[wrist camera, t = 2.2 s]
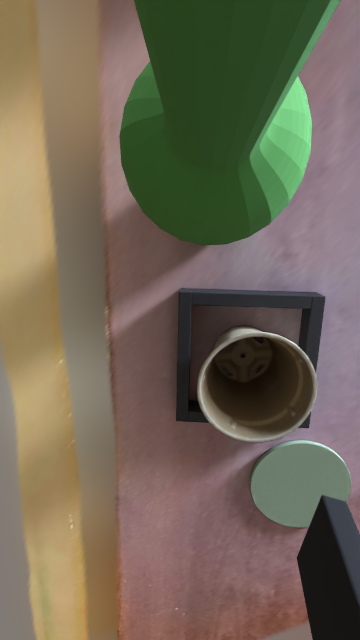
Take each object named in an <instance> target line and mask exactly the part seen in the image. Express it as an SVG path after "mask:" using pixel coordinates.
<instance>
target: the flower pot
mask: <svg viewBox="0 0 360 640" xmlns="http://www.w3.org/2000/svg"><path fill="white" fill-rule="evenodd" d="M254 337H261V338H262V339H263V342H262V343H260V342H259V341H258V340H256V338H254ZM241 354H244V355H245V357H244V358H242V357H241ZM261 365H264V366H263V367H262V369H261V370H260V371H259V372H255V371H256V370H257V369H258V368H257V367H260V366H261ZM223 367H224V368H225V369H226V370H228V371H229V372H230V373H232V375H231V376H230V375H227V374H226V373H224V372H223V370H222V368H223ZM316 394H317V379H316V373H315V370H314V367H313V365H312V363H311V361H310V360H309V358H308V356H307V355H306V354H305V353H304V352H303V351H302V350H301V349H300V348H299V347H298V346H297V345H296V344H295V343H293V342H292V341H290V340H288V339H286V338H284V337H282V336H279V335H276V334H272V333H267V332H262V331H260V330H258V329H256V328H254V327H250V326H238V327H234V328H231V329H229V330H227V331H225V332H224V333H223V334H222V335H221V336H220V337H219V338H218V339H217V341H216V343H215V345H214V348H213V351H212V352H211V353H210V355H209V356H208V357H207V359H206V360H205V362H204V364H203V365H202V368H201V370H200V373H199V376H198V381H197V397H198V402H199V405H200V408H201V410H202V412H203V414H204V416H205V417H206V419H207V420H208V421H209V423H210V424H212V425H213V426H214V427H215V428H216V429H217V430H218V431H220V432H221V433H223V434H225V435H226V436H228V437H231V438H233V439H236V440H239V441H243V442H251V443H261V442H269V441H273V440H276V439H279V438H282V437H284V436H286V435H288V434H289V433H291V432H292V431H294V430H296V429H297V428H298V427H299V426H300V425H301V424H302V423H303V421H305V419H306V418H307V417H308V415H309V413H310V412H311V410H312V408H313V405H314V402H315V400H316Z"/></svg>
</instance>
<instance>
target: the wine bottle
mask: <svg viewBox="0 0 360 640" xmlns="http://www.w3.org/2000/svg"><path fill="white" fill-rule="evenodd" d="M134 2H135V6H136V9H137V13H138V17H139V20H140V24H141V28H142V32H143V35H144V39H145V43H146V46H147V50H148V54H149V58H150V62H149V63H148V65H147V66H146V67H145V69H144V70H143V71H142V73H141V74H140V75H139V76H138V78H137V79H136V81H135V83H134V86H133V88H132V90H131V93H130V95H129V97H128V100H127V102H126V104H125V107H124V113H123V119H122V125H121V131H120V149H121V163H122V167H123V170H124V174H125V177H126V180H127V183H128V186H129V189H130V191H131V193H132V195H133V196H134V198H135V199H136V201H137V203H138V204H139V206H140V208H141V209H142V211H143V212H144V213H145V214H146V215H147V216H148V217H149V218H150V219H151V220H152V221H153V222H154V223H155V224H156V225H157V226H158V227H159V228H160V229H162V230H164V231H166V232H167V233H169V234H171V235H173V236H175V237H177V238H178V239H180V240H183V241H188V242H192V243H196V244H200V245H218V244H228V243H231V242H234V241H238V240H241V239H244V238H247V237H249V236H251V235H253V234H254V233H256V232H257V231H259V230H261V229H262V228H264V227H266V226H267V225H269V224H270V223H271V222H272V221H273V220H274V219H275V218H276V217H277V216H278V214H279V213H280V212H281V211H282V210H283V209H284V208H285V207H286V206H287V205H288V204H289V202H290V200H291V198H292V197H293V195H294V193H295V192H296V190H297V188H298V186H299V185H300V183H301V181H302V179H303V176H304V172H305V169H306V165H307V162H308V159H309V155H310V150H311V130H312V120H311V115H310V110H309V105H308V100H307V95H306V92H305V90H304V88H303V86H302V84H301V82H300V80H299V78H298V75H299V73H300V71H301V69H302V68H303V66H304V64H305V62H306V60H307V59H308V57H309V55H310V53H311V52H312V50H313V48H314V46H315V45H316V43H317V41H318V39H319V37H320V36H321V34H322V32H323V30H324V29H325V27H326V25H327V23H328V21H329V20H330V18H331V16H332V14H333V13H334V11H335V9H336V7H337V6H338V4H339V2H340V0H134Z"/></svg>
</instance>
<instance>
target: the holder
mask: <svg viewBox="0 0 360 640" xmlns="http://www.w3.org/2000/svg"><path fill="white" fill-rule="evenodd" d="M192 305H211V306H240V307H270V308H299V309H303V310H302V319H301V328H300V337H299V346H298V347H299V348H300V349H301V350H302V351H303V352H304V353H305V354H306V355H307V356H308V358H309V360H310V361H311V363H312V365H313V367H314V370H315V373H316V368H317V360H318V352H319V344H320V336H321V328H322V321H323V313H324V305H325V296H323V295H320V294H318V293H316V292H285V291H253V290H221V289H188V288H181V289H180V291H179V315H178V361H177V407H176V421H184V422H204V423H209V421H208V420H207V419H206V417H205V416H204V414H203V412H202V410H201V408H200V405H199V402H198V401H195V400H189V385H190V353H191V321H192ZM310 416H311V412H310V413H309V415H308V417H307V418H306V419H305V421H303V423H302V424H301V425H300V426H299V427H298V428H309V424H310Z"/></svg>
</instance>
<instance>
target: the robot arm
mask: <svg viewBox="0 0 360 640" xmlns="http://www.w3.org/2000/svg"><path fill="white" fill-rule="evenodd" d="M297 561H298V566H299V571H300V576H301V581H302V587H303V592H304V597H305V602H306V607H307V612H308V618H309V623H310V628H311V633H312V638H313V640H360V534H359V532H358V530H357V527H356V525H355V522H354V520H353V518H352V515H351V513H350V510H349V508H348V506H347V503H346V501H342V500H339V499H335V498H332V497H328V496H324V495H321V498H320V500H319V503H318V506H317V508H316V511H315V513H314V516H313V518H312V521H311V523H310V526H309V528H308V531H307V533H306V536H305V538H304V541H303V544H302V546H301V549H300V551H299V554H298V556H297Z"/></svg>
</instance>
